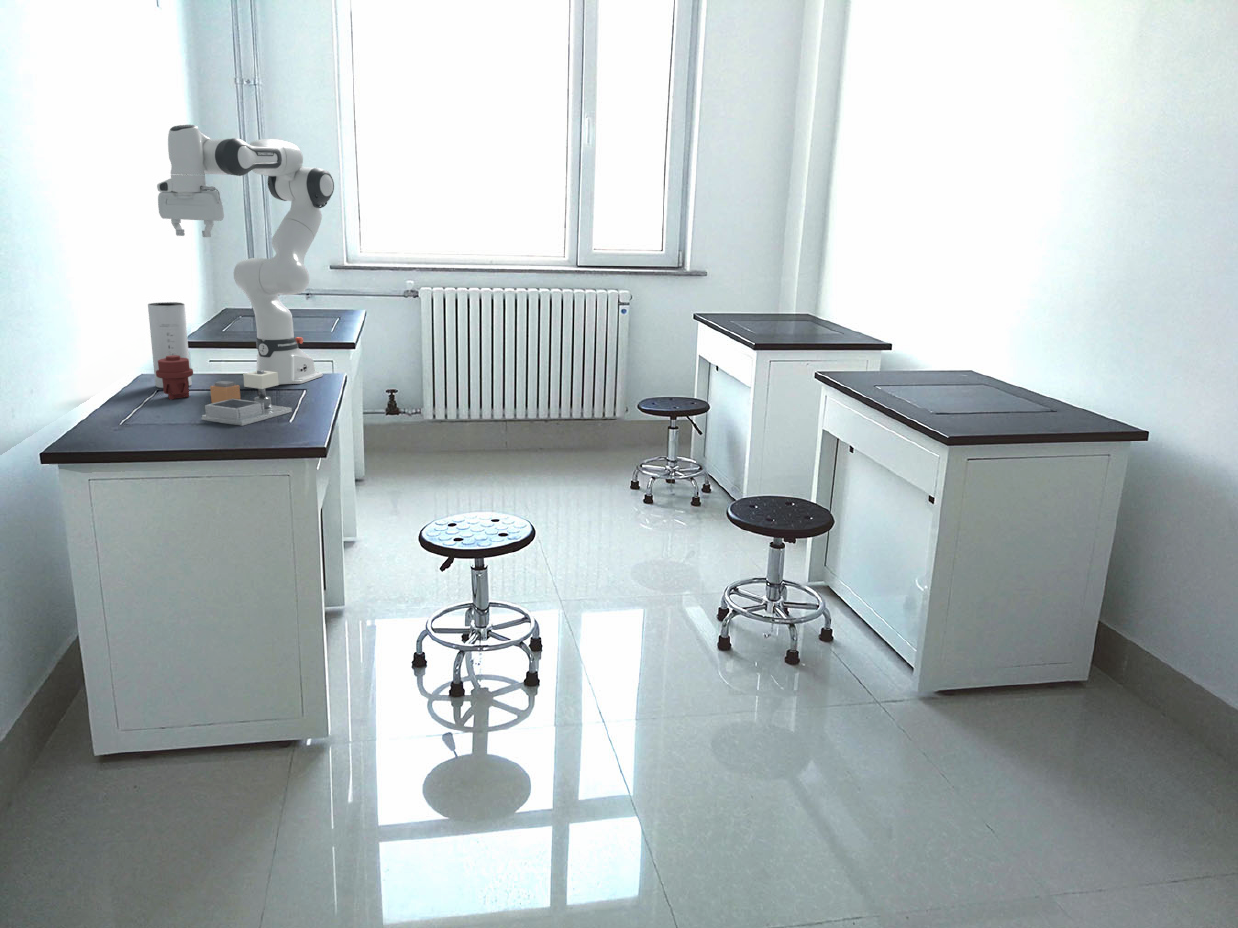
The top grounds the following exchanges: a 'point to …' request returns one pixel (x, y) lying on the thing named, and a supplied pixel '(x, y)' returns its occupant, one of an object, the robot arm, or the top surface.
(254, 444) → the top surface
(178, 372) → the mechanical component
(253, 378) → the square housing
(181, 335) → the speaker
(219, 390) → the block
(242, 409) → the chassis
